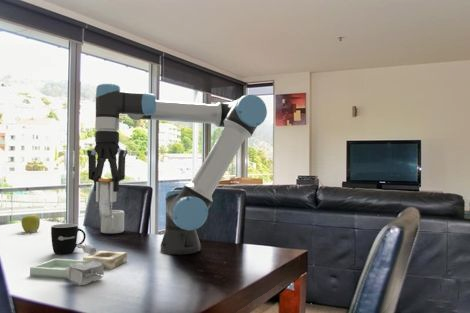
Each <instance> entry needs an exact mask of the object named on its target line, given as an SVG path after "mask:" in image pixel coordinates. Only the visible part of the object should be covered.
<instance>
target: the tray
mask: <svg viewBox="0 0 470 313" xmlns="http://www.w3.org/2000/svg"><path fill="white" fill-rule="evenodd" d="M73 262H74V263H76V264H77V263H81V262H82V263H83V259H81V260H80V259H68V258H66V259H65V258H53V259H49V260H47V261H45V262H42V263H39V264H37V265H36V264H35V265H33V266H31V267H29V277H38V278H40V277H41V278H49V279H62V280H69V279H68V275H67V274H66V273H64V272H66V271H67V270H68V269H67V270H66V271H64V269H66V268H64V267H68V268H69V267H70V263H71V264H73ZM73 265H74V264H73ZM87 270H88V269H87ZM62 271H64V272H62Z"/></svg>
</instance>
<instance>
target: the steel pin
mask: <svg viewBox="0 0 470 313" xmlns="http://www.w3.org/2000/svg"><path fill="white" fill-rule="evenodd" d="M98 181H100V194H99V202H98V203H99V204H98V205H99V208H98V218H99V219H101V218H112V210H113V202H110V182H112V177H101V178H98Z"/></svg>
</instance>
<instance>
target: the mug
mask: <svg viewBox="0 0 470 313" xmlns="http://www.w3.org/2000/svg"><path fill="white" fill-rule="evenodd" d="M78 226H79V225H78V224H76V223H60V224H59V223H58V224H57V223H56V224H53V225H51V227H50V235H51V237H50V238H51V246H52V250H53V253H54V254H55V255H58V256H66V255H71V254H73V253H74V252H75V250H76V248H78V247H77V244H79V245H83V243H85V240H86V237H87V236H86V232H85V231H84V230H83V229H81V228H79V227H78ZM79 232H81V233H82V234H83V238H82V239H81V241H80V242H79V243H77V239H78V233H79Z"/></svg>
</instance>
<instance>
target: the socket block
mask: <svg viewBox="0 0 470 313" xmlns="http://www.w3.org/2000/svg"><path fill="white" fill-rule="evenodd" d="M91 259H96V260H98V261H99V260H100V261H101V262H100V263H102V264H103V267H104V269H107V270H113V269H114V268H116V267H118V266H121V265H122V264H124V263H126V262H127V259H128V256H127V251H126V252H125V251H112V250H109V251H108V250H99V251H96V253H95V254H94V255H90V254H87V255H86V256H84V257H82V260H84V261H86V260H90V261H92V260H91Z"/></svg>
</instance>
